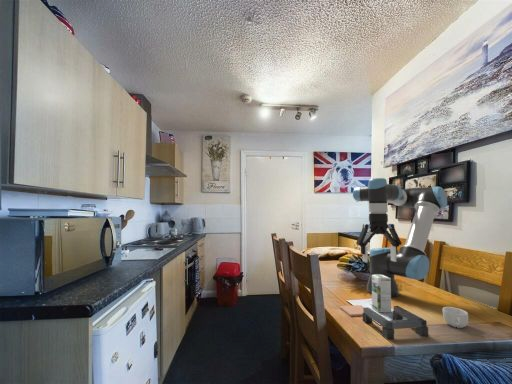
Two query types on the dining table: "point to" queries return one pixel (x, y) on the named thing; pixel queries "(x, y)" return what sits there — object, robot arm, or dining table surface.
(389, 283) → the syrup box
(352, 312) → the terracotta tile
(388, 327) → the grey stand frame
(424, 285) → the dining table surface
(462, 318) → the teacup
